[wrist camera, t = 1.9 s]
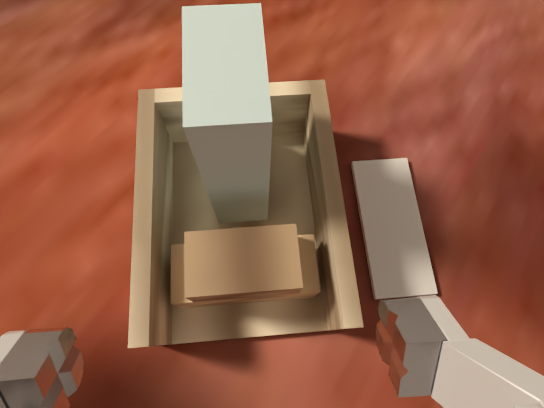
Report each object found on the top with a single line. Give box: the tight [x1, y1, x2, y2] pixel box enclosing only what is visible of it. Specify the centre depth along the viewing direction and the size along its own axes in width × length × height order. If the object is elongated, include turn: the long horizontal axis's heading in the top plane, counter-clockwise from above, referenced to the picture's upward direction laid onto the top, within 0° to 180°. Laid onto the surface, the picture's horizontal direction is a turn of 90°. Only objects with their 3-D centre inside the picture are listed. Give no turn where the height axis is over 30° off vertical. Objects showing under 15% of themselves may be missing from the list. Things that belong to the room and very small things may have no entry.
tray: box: [128, 80, 364, 348], centre depth 28 cm, size 14×18×7 cm
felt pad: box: [351, 158, 438, 300], centre depth 32 cm, size 5×12×1 cm, turn 5°
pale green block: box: [182, 3, 272, 224], centre depth 25 cm, size 4×7×15 cm, turn 5°
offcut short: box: [184, 224, 303, 302], centre depth 24 cm, size 7×4×3 cm, turn 95°
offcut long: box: [171, 234, 321, 308], centre depth 27 cm, size 10×4×4 cm, turn 95°
